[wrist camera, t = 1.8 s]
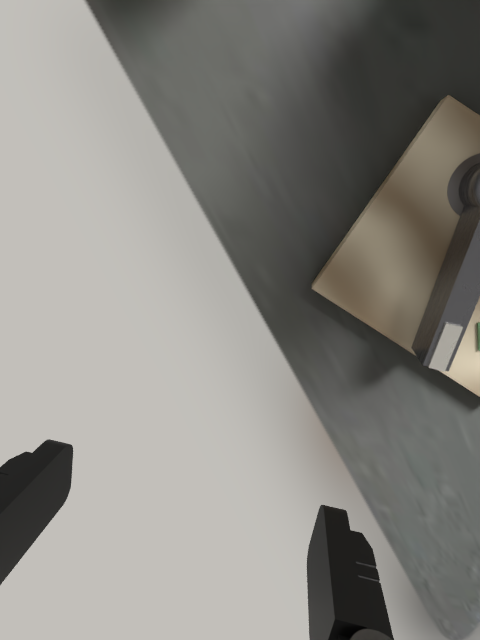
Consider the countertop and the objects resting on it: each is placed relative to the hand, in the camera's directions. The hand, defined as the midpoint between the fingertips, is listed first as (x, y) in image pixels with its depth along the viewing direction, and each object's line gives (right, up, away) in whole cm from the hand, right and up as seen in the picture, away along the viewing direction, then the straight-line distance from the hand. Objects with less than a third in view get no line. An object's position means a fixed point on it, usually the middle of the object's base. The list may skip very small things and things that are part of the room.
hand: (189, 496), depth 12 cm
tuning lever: (+16, +9, +13) cm, 22 cm away
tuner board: (+17, +9, +15) cm, 25 cm away
